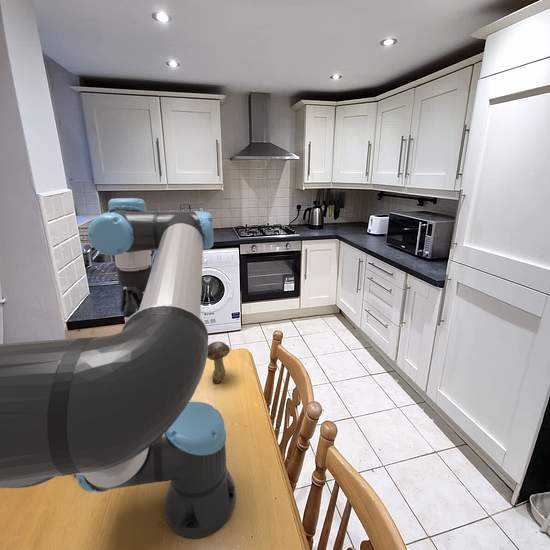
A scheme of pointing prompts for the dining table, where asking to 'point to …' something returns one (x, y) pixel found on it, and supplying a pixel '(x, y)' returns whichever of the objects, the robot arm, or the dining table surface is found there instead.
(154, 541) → the dining table surface
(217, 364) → the mushroom
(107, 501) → the dining table surface
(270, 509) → the dining table surface
